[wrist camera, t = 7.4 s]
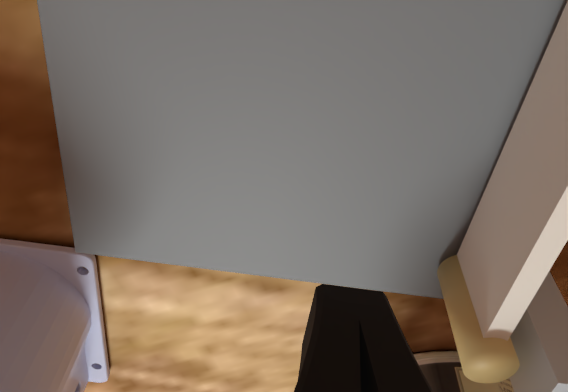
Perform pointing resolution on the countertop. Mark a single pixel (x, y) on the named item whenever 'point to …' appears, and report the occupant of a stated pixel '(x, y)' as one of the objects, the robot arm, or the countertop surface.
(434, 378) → the coffee can
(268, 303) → the countertop surface
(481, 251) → the gate
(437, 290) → the gate board
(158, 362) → the countertop surface
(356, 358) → the robot arm
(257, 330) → the countertop surface
